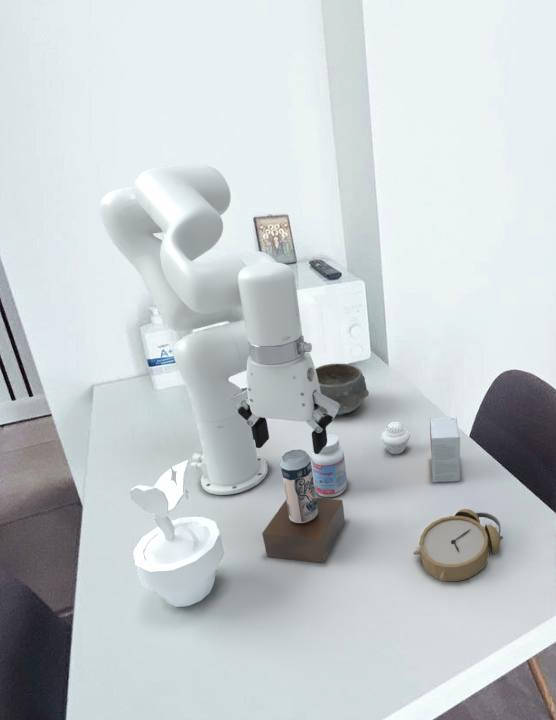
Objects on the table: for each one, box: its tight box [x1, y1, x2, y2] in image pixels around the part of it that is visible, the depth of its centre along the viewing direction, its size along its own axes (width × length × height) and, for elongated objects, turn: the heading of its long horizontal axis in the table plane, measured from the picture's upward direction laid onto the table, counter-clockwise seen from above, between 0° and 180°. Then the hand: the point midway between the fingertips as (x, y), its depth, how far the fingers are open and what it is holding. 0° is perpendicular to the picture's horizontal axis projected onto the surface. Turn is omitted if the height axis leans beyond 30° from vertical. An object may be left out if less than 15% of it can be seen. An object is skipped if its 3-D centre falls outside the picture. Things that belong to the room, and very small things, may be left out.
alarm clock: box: [412, 508, 504, 582], centre depth 90 cm, size 11×5×15 cm
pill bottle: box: [311, 433, 348, 498], centre depth 105 cm, size 6×6×11 cm
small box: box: [429, 416, 461, 483], centre depth 110 cm, size 8×6×10 cm
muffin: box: [380, 421, 411, 455], centre depth 118 cm, size 6×6×7 cm
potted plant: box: [129, 459, 225, 608], centre depth 79 cm, size 13×12×25 cm
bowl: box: [315, 363, 370, 416], centre depth 134 cm, size 14×15×10 cm
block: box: [261, 497, 346, 564], centre depth 93 cm, size 10×10×5 cm
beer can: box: [279, 449, 318, 523], centre depth 90 cm, size 5×5×12 cm
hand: (291, 446), depth 87 cm, fingers open, 9 cm apart
